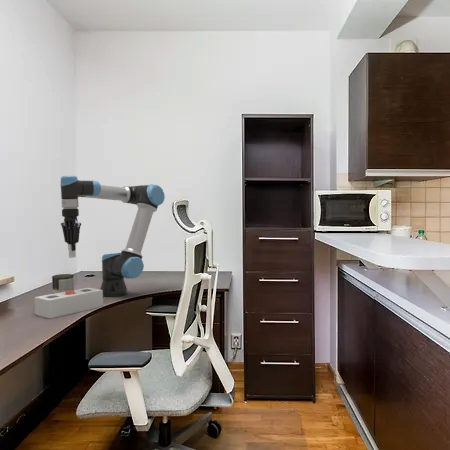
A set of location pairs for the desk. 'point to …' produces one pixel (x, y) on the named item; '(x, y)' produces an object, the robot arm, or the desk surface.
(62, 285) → the coffee can
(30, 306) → the desk surface
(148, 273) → the desk surface
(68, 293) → the red plug
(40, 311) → the panel
